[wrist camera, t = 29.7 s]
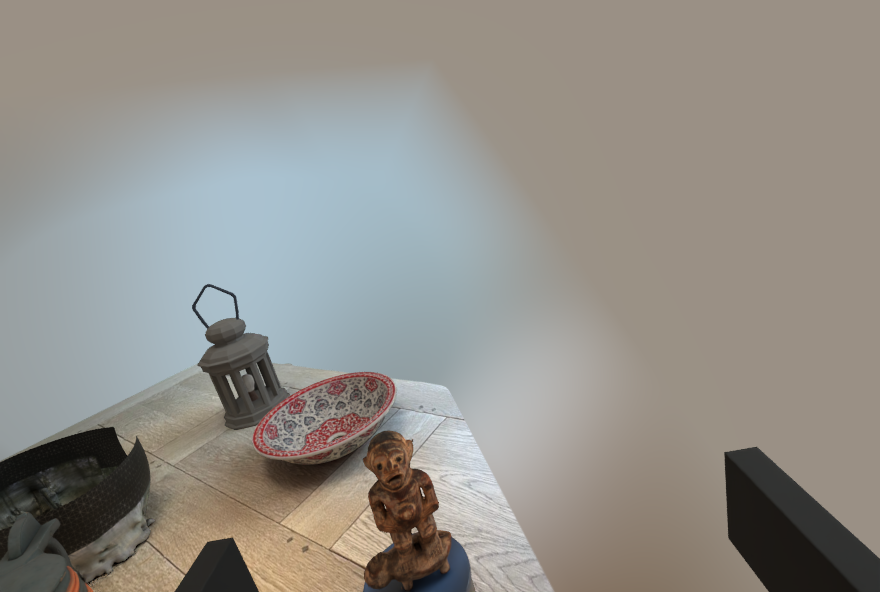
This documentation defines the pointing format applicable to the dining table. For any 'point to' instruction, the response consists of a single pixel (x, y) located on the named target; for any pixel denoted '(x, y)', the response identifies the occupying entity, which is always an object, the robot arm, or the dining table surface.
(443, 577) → the pedestal
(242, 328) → the lantern
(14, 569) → the tankard
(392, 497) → the figurine
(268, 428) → the ceramic bowl
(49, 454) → the basket
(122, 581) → the dining table surface
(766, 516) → the robot arm
